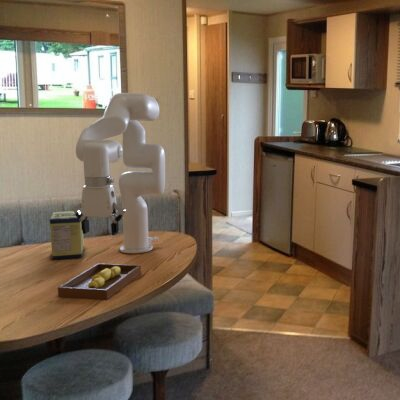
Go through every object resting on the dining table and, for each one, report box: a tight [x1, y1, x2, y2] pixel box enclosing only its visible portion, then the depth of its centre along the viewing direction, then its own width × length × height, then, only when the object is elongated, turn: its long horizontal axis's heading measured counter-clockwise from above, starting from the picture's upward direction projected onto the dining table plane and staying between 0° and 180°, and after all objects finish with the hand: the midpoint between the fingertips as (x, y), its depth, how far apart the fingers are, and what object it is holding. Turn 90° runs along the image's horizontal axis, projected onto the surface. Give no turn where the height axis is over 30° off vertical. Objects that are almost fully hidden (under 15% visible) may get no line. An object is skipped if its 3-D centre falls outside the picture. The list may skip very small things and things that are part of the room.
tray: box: [57, 262, 142, 300], centre depth 183 cm, size 26×16×3 cm, turn 175°
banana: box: [88, 266, 121, 289], centre depth 183 cm, size 20×4×4 cm, turn 175°
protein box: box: [49, 209, 85, 261], centre depth 216 cm, size 10×16×16 cm
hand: (100, 233), depth 181 cm, fingers open, 9 cm apart
